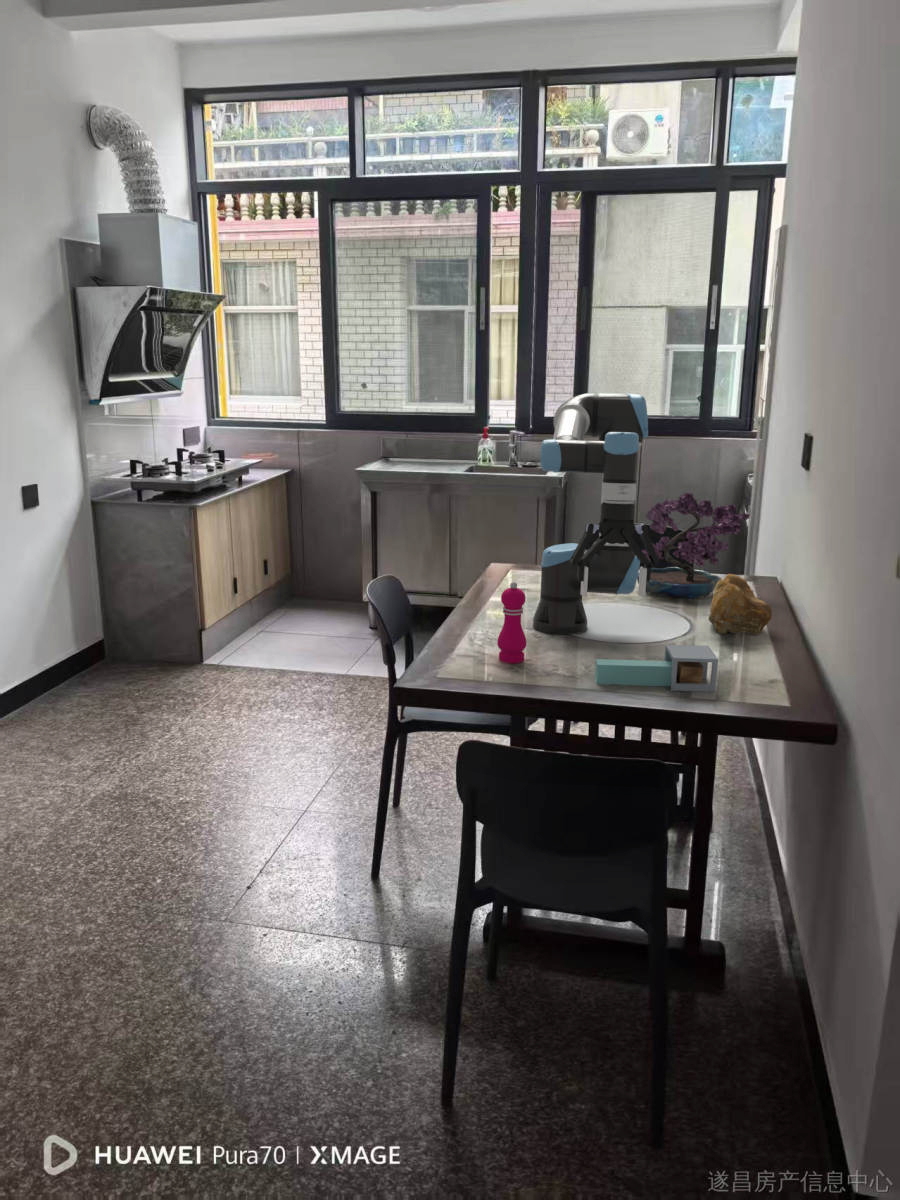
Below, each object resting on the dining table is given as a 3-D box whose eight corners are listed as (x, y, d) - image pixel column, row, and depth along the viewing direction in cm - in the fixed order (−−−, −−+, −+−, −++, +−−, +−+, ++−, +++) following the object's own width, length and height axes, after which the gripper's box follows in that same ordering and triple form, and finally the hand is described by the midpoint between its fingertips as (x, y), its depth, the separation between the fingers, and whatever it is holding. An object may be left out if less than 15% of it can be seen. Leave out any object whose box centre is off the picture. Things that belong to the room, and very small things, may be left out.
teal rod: (596, 685, 212) (597, 664, 210) (594, 679, 216) (595, 659, 214) (674, 687, 211) (676, 666, 210) (671, 681, 215) (673, 661, 214)
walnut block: (679, 687, 210) (681, 666, 209) (675, 680, 215) (677, 660, 214) (701, 688, 210) (703, 667, 209) (697, 680, 215) (698, 660, 214)
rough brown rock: (762, 648, 243) (773, 594, 239) (700, 634, 249) (710, 582, 245) (771, 628, 263) (781, 578, 259) (713, 616, 269) (722, 568, 266)
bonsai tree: (634, 600, 286) (641, 497, 278) (630, 580, 312) (636, 485, 304) (750, 605, 282) (760, 500, 273) (735, 585, 308) (744, 488, 299)
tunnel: (670, 690, 208) (673, 657, 206) (663, 675, 218) (665, 644, 216) (715, 691, 208) (718, 659, 206) (705, 676, 217) (708, 645, 215)
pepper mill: (530, 663, 226) (533, 584, 221) (502, 665, 224) (504, 586, 219) (519, 654, 232) (522, 577, 227) (492, 656, 230) (494, 579, 225)
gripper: (567, 502, 199) (563, 598, 203) (677, 504, 202) (671, 598, 206) (559, 499, 206) (555, 592, 210) (665, 502, 209) (659, 593, 213)
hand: (612, 595), depth 208 cm, fingers open, 13 cm apart
